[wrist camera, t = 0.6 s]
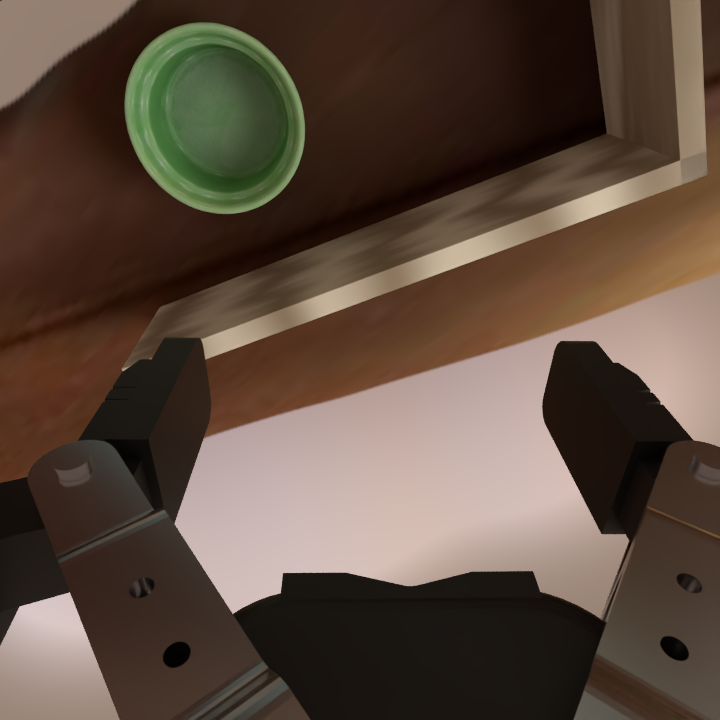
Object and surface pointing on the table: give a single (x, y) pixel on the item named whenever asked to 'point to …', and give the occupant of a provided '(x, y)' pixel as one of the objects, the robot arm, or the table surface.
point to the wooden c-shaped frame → (489, 193)
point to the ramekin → (214, 118)
